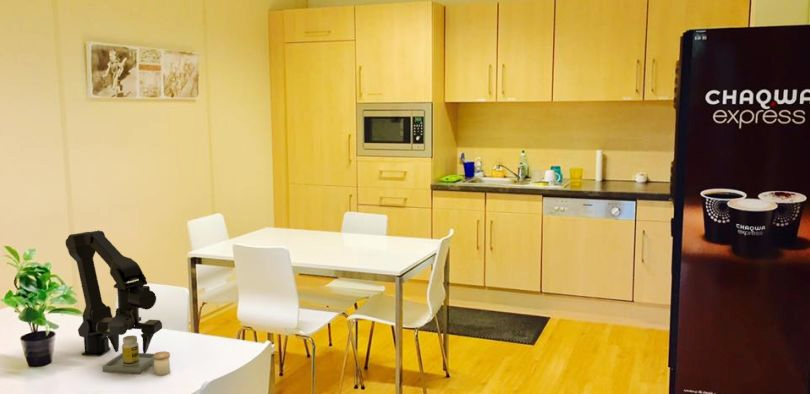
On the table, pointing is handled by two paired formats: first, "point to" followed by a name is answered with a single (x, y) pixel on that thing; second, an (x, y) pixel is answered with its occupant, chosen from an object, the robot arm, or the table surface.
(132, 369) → the tray
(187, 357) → the table surface
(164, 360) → the sugar jar
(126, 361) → the supplement bottle
